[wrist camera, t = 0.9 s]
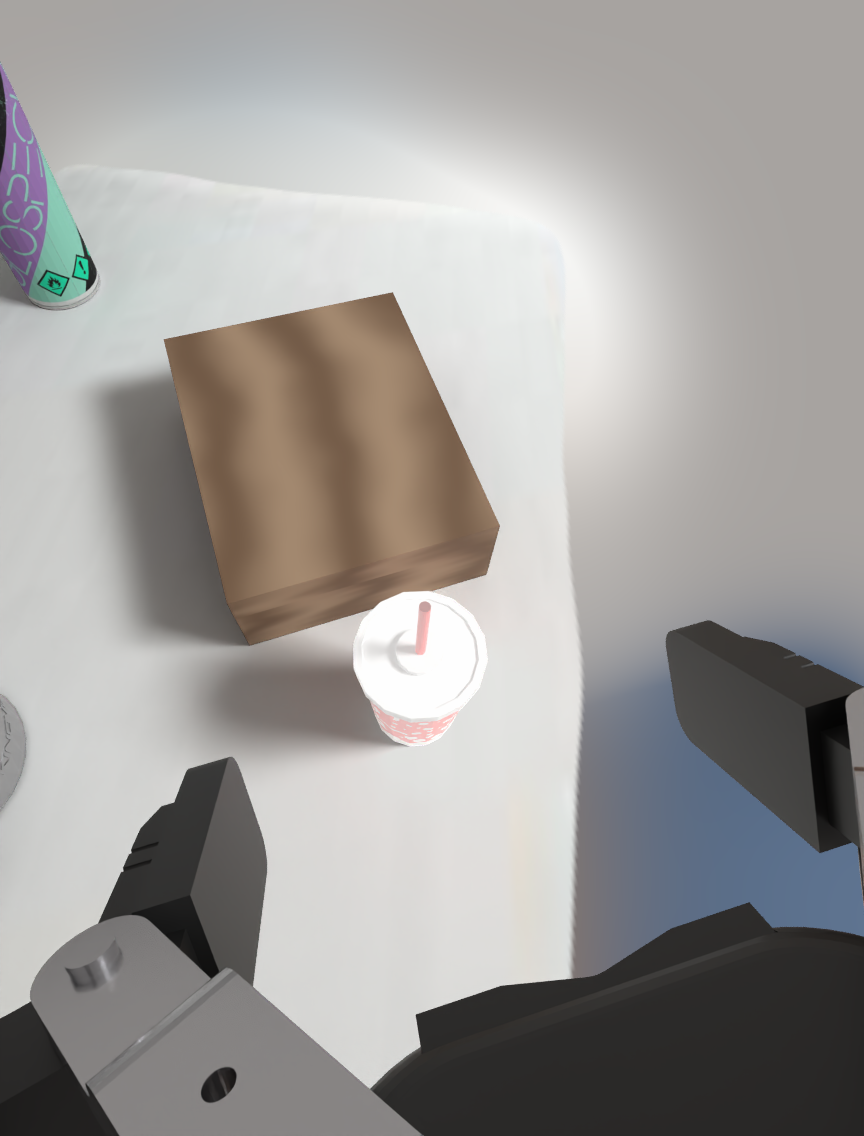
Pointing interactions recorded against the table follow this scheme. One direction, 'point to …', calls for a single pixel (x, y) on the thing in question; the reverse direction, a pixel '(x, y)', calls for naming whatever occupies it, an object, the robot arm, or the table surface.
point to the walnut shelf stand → (326, 465)
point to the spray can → (38, 218)
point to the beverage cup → (419, 664)
